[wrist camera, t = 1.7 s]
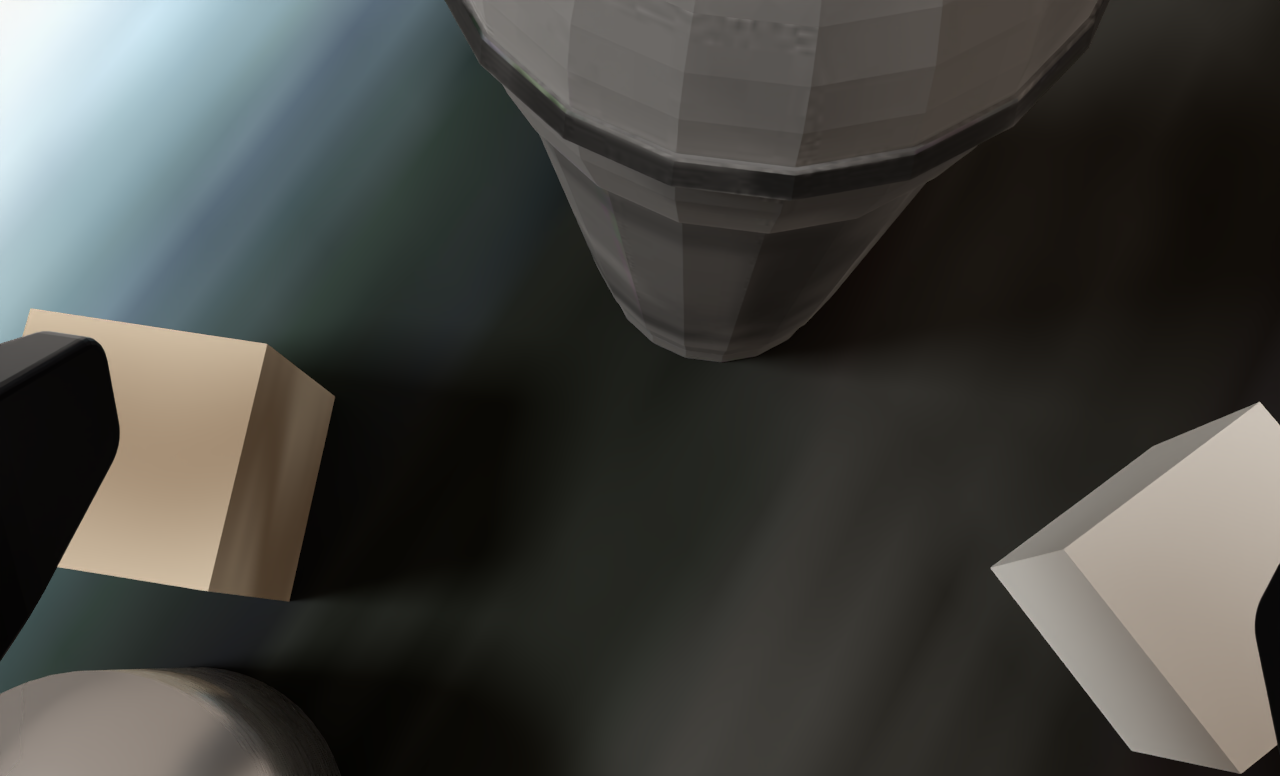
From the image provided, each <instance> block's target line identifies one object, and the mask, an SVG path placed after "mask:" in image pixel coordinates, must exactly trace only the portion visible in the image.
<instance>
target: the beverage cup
mask: <svg viewBox="0 0 1280 776" xmlns="http://www.w3.org/2000/svg"><path fill="white" fill-rule="evenodd" d="M445 2H446V4H447V5H448V7H449V9H450V11H451V13H452V14H453V16H454V18H455V20H456V22H457V23H458V25H459V27H460V29H461V31H462V32H463V34H464V36H465V38H466V40H467V41H468V43H469V45H470V47H471V49H472V50H473V52H474V54H475V56H476V58H477V59H478V61H479V63H480V65H481V66H483V67H484V68H485V69H486V70H487V71H488V72H489V73H490V74H492V75H493V76H494V77H495V78H496V79H497V80H498V81H499V82H500V83H502V84H503V86H504V88H505V90H506V92H507V93H508V95H509V96H510V97H511V99H512V100H513V101H514V103H515V104H516V105H517V106H518V108H519V109H520V110H521V112H522V113H523V114H524V116H525V117H526V118H527V120H528V121H529V122H530V124H531V125H532V126H533V128H534V129H535V130H536V131H537V132H538V133H539V135H540V137H541V139H542V142H543V144H544V146H545V148H546V151H547V153H548V155H549V158H550V160H551V162H552V164H553V167H554V169H555V171H556V174H557V176H558V178H559V180H560V183H561V185H562V187H563V190H564V192H565V194H566V197H567V199H568V201H569V203H570V206H571V208H572V210H573V213H574V215H575V217H576V219H577V222H578V224H579V226H580V229H581V231H582V233H583V235H584V238H585V240H586V242H587V245H588V247H589V249H590V252H591V254H592V256H593V258H594V261H595V263H596V265H597V267H598V269H599V271H600V273H601V275H602V276H603V278H604V280H605V282H606V284H607V285H608V287H609V289H610V291H611V293H612V294H613V296H614V298H615V300H616V301H617V302H618V303H619V305H620V307H621V308H622V310H623V312H624V314H625V316H626V317H627V319H628V320H629V321H630V322H631V323H632V324H633V325H634V326H635V327H637V328H638V329H639V330H640V331H641V332H642V333H643V334H644V335H645V336H646V337H647V338H648V339H650V340H651V341H652V342H653V343H655V344H657V345H659V346H661V347H663V348H665V349H668V350H670V351H672V352H674V353H676V354H678V355H681V356H683V357H685V358H691V359H699V360H706V361H714V362H726V361H732V360H738V359H743V358H749V357H755V356H758V355H760V354H762V353H764V352H765V351H767V350H769V349H771V348H773V347H775V346H777V345H779V344H781V343H782V342H784V341H786V340H788V339H789V338H790V337H791V336H792V335H793V334H794V333H795V332H796V331H797V330H798V329H799V328H800V327H801V326H803V325H805V324H806V323H807V322H808V321H809V319H810V318H811V317H812V316H813V315H814V314H815V313H816V312H817V311H818V310H819V309H820V308H821V307H822V306H823V305H824V304H825V303H826V302H827V301H828V300H829V299H830V298H831V297H832V296H833V294H834V293H835V292H836V291H837V290H838V288H839V287H840V286H841V285H842V284H843V282H844V281H845V280H846V279H847V278H848V276H849V275H850V274H851V273H852V271H853V270H854V269H855V268H856V267H857V265H858V264H859V263H860V262H861V261H862V259H863V258H864V257H865V256H866V255H867V253H868V252H869V251H870V250H871V249H872V247H873V246H874V245H875V244H876V243H877V241H878V240H879V239H880V238H881V237H882V235H883V234H884V233H885V232H886V231H887V229H888V228H889V227H890V226H891V225H892V223H893V222H894V221H895V220H896V219H897V217H898V216H899V215H900V214H901V213H902V211H903V210H904V209H905V208H906V207H907V205H908V204H909V203H910V202H911V201H912V199H913V198H914V197H915V196H916V194H917V193H918V192H919V191H920V190H921V188H922V187H923V186H924V185H925V184H926V182H928V181H930V180H932V179H934V178H936V177H937V176H939V175H940V174H941V173H943V172H944V171H945V170H947V169H948V168H949V167H951V166H952V165H953V164H955V163H956V162H957V161H959V160H960V159H961V158H963V157H964V156H965V155H967V154H968V153H969V152H971V151H972V150H973V149H975V148H976V147H977V146H978V145H979V144H981V143H983V142H985V141H986V140H988V139H990V138H992V137H994V136H996V135H998V134H1000V133H1002V132H1004V131H1006V130H1008V129H1010V128H1012V127H1013V126H1014V125H1015V124H1016V123H1017V122H1018V121H1019V120H1020V119H1021V118H1022V117H1023V116H1024V115H1025V114H1026V113H1027V112H1028V111H1029V110H1030V108H1031V107H1032V106H1033V105H1034V104H1035V103H1036V102H1037V101H1038V100H1039V99H1040V98H1041V97H1042V96H1043V95H1044V94H1045V93H1046V92H1047V91H1048V90H1049V89H1050V88H1051V87H1052V86H1053V85H1054V83H1055V82H1056V81H1057V80H1058V79H1059V78H1060V77H1061V76H1062V75H1063V74H1064V73H1065V72H1066V71H1067V70H1068V69H1069V68H1070V67H1071V66H1072V65H1073V64H1074V63H1075V62H1076V61H1077V60H1078V58H1079V57H1080V56H1081V55H1082V54H1083V53H1084V52H1085V51H1086V50H1087V49H1088V48H1089V46H1090V44H1091V42H1092V39H1093V37H1094V35H1095V32H1096V30H1097V28H1098V25H1099V23H1100V21H1101V19H1102V16H1103V14H1104V12H1105V9H1106V7H1107V5H1108V3H1109V0H445Z"/></svg>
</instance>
